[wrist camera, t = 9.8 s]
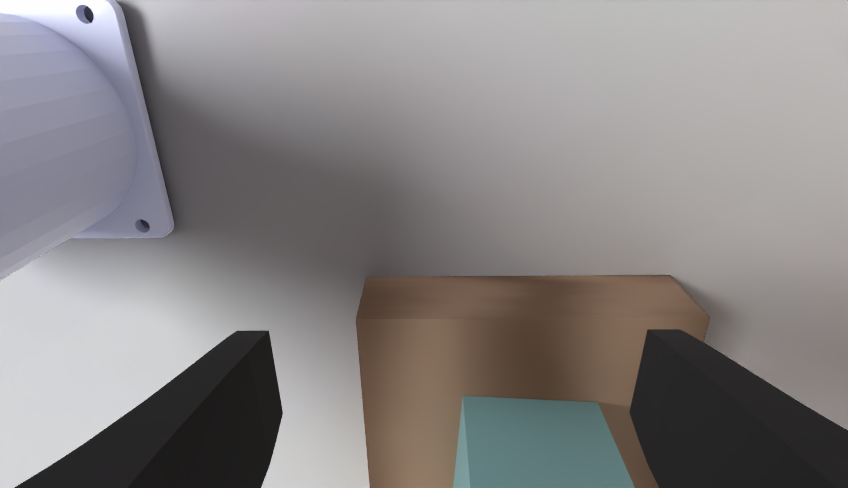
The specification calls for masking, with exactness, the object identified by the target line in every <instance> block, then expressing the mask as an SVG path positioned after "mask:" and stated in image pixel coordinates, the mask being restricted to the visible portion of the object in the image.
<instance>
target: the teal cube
mask: <svg viewBox="0 0 848 488" xmlns="http://www.w3.org/2000/svg"><path fill="white" fill-rule="evenodd" d="M453 488H635V487H634V485H633V482H632V480H631V478H630V476H629V473H628V471H627V469H626V466H625V464H624V462H623V459H622V457H621V455H620V453H619V450H618V448H617V446H616V443H615V441H614V439H613V436H612V434H611V432H610V430H609V427H608V425H607V423H606V420H605V418H604V416H603V414H602V411H601V409H600V407H599V404H598V402H580V401H559V400H539V399H518V398H497V397H476V396H463V398H462V408H461V417H460V426H459V436H458V445H457V455H456V464H455V473H454V483H453Z"/></svg>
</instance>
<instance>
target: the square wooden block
mask: <svg viewBox="0 0 848 488" xmlns="http://www.w3.org/2000/svg"><path fill="white" fill-rule="evenodd" d="M709 320H710V317H709V316H708V315H707V314H706V313H705V311H704V310H703V309H702V308H701V307H700V306H699V305H698V304H697V303H696V302H695V301H694V300H693V299H692V298H691V297H690V296H689V295H688V294H687V293H686V292H685V291H684V289H683V288H682V287H681V286H680V285H679V284H678V283H677V282H676V281H675V280H674V279H673V278H672V277H671V276H670V275H594V276H441V277H366V280H365V284H364V288H363V292H362V296H361V300H360V305H359V309H358V313H357V317H356V326H357V338H358V350H359V362H360V374H361V386H362V398H363V410H364V423H365V435H366V447H367V459H368V471H369V483H370V488H453V483H454V473H455V464H456V455H457V445H458V436H459V426H460V417H461V408H462V398H463V396H476V397H497V398H518V399H539V400H559V401H580V402H598V404H599V407H600V409H601V411H602V414H603V416H604V418H605V420H606V423H607V425H608V427H609V430H610V432H611V434H612V436H613V439H614V441H615V443H616V446H617V448H618V450H619V453H620V455H621V457H622V459H623V462H624V464H625V466H626V469H627V471H628V473H629V476H630V478H631V480H632V482H633V485H634V487H635V488H659V486H658V484H657V482H656V480H655V478H654V476H653V474H652V472H651V470H650V468H649V466H648V464H647V461H646V458H645V456H644V453H643V450H642V448H641V445H640V442H639V440H638V437H637V434H636V431H635V428H634V425H633V422H632V419H631V416H630V413H629V412H630V407H631V402H632V398H633V393H634V389H635V384H636V380H637V375H638V370H639V366H640V361H641V357H642V352H643V347H644V343H645V338H646V334H647V329H680V330H682V331H684V332H686V333H688V334H690V335H692V336H693V337H695V338H697V339H699V340H700V341H702V342H703V341H704V338H705V334H706V330H707V327H708V323H709Z"/></svg>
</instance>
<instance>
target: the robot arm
mask: <svg viewBox="0 0 848 488" xmlns="http://www.w3.org/2000/svg"><path fill="white" fill-rule="evenodd" d="M86 6H88V7H89V8H90V9H91V10H92V12H93V14H94V19H93V21H92V23H91V22H89V21H88V20H87V19H86V17H85V15H84V10H85V8H86ZM141 219H142V220H145V221H146V222H148V224H149V226H150V229H149V228H146V227H144V226H143V225H142V223H141ZM173 229H174V220H173V216H172V212H171V208H170V203H169V199H168V195H167V191H166V187H165V183H164V179H163V174H162V170H161V166H160V162H159V158H158V154H157V150H156V145H155V141H154V137H153V133H152V129H151V125H150V121H149V116H148V112H147V108H146V104H145V100H144V96H143V92H142V87H141V83H140V79H139V75H138V71H137V67H136V63H135V58H134V54H133V50H132V46H131V42H130V38H129V34H128V29H127V25H126V21H125V17H124V13H123V11H122V9H121V7H120V6H119V4H118V3H117V2H116V1H114V0H0V280H2V279H4V278H5V277H7V276H9V275H10V274H12V273H13V272H15V271H17V270H18V269H20V268H22V267H23V266H25V265H27V264H28V263H30V262H32V261H33V260H35V259H37V258H38V257H40V256H42V255H43V254H45V253H47V252H48V251H50V250H52V249H53V248H55V247H57V246H58V245H60V244H62V243H63V242H65V241H67V240H68V239H70V238H162V237H165V236H167V235H168V234H169V233H171V232H172V231H173ZM629 413H630V416H631V419H632V422H633V425H634V428H635V431H636V434H637V437H638V440H639V442H640V445H641V448H642V450H643V453H644V456H645V458H646V461H647V464H648V466H649V468H650V470H651V472H652V474H653V476H654V478H655V480H656V482H657V484H658V486H659V488H848V430H846V429H844V428H842V427H841V426H839V425H837V424H835V423H834V422H832V421H830V420H829V419H827V418H825V417H823V416H822V415H820V414H818V413H817V412H815V411H813V410H812V409H810V408H808V407H807V406H805V405H803V404H802V403H800V402H798V401H797V400H795V399H793V398H792V397H790V396H789V395H787V394H785V393H784V392H782V391H780V390H779V389H777V388H776V387H774V386H772V385H771V384H769V383H768V382H766V381H764V380H763V379H761V378H760V377H758V376H756V375H755V374H753V373H752V372H750V371H749V370H747V369H745V368H744V367H742V366H741V365H739V364H737V363H736V362H734V361H733V360H731V359H729V358H728V357H726V356H725V355H723V354H721V353H720V352H718V351H717V350H715V349H713V348H712V347H710V346H709V345H707V344H705V343H704V342H702V341H700V340H699V339H697V338H695V337H693V336H692V335H690V334H688V333H686V332H684V331H682V330H680V329H647V334H646V338H645V343H644V347H643V352H642V357H641V361H640V366H639V370H638V375H637V380H636V384H635V389H634V393H633V398H632V402H631V407H630V412H629ZM282 414H283V412H282V406H281V400H280V394H279V388H278V382H277V377H276V371H275V365H274V359H273V353H272V347H271V341H270V336H269V331H236V332H235V333H233V334H232V335H230V336H229V337H227V338H226V339H225V340H223V341H222V342H221V343H219V344H218V345H217V346H215V347H214V348H213V349H212V350H210V351H209V352H208V353H206V354H205V355H204V356H203V357H201V358H200V359H199V360H197V361H196V362H195V363H194V364H192V365H191V366H190V367H188V368H187V369H186V370H185V371H183V372H182V373H181V374H179V375H178V376H177V377H175V378H174V379H173V380H171V381H170V382H169V383H168V384H166V385H165V386H164V387H162V388H161V389H160V390H158V391H157V392H156V393H154V394H153V395H152V396H151V397H149V398H148V399H147V400H145V401H144V402H142V403H141V404H140V405H138V406H137V407H135V408H134V409H133V410H131V411H130V412H128V413H127V414H125V415H124V416H123V417H121V418H120V419H118V420H117V421H116V422H114V423H113V424H111V425H110V426H109V427H107V428H106V429H104V430H103V431H101V432H100V433H99V434H97V435H96V436H94V437H93V438H92V439H90V440H89V441H87V442H86V443H84V444H83V445H81V446H80V447H78V448H77V449H75V450H74V451H72V452H71V453H69V454H68V455H66V456H65V457H63V458H62V459H60V460H58V461H57V462H55V463H54V464H52V465H51V466H49V467H48V468H46V469H44V470H43V471H41V472H39V473H38V474H36V475H34V476H33V477H31V478H30V479H28V480H26V481H25V482H23V483H21V484H20V485H18V486H16V487H15V488H261V486H262V484H263V481H264V478H265V476H266V473H267V470H268V468H269V465H270V462H271V458H272V454H273V450H274V447H275V443H276V439H277V435H278V431H279V426H280V422H281V418H282Z"/></svg>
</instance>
